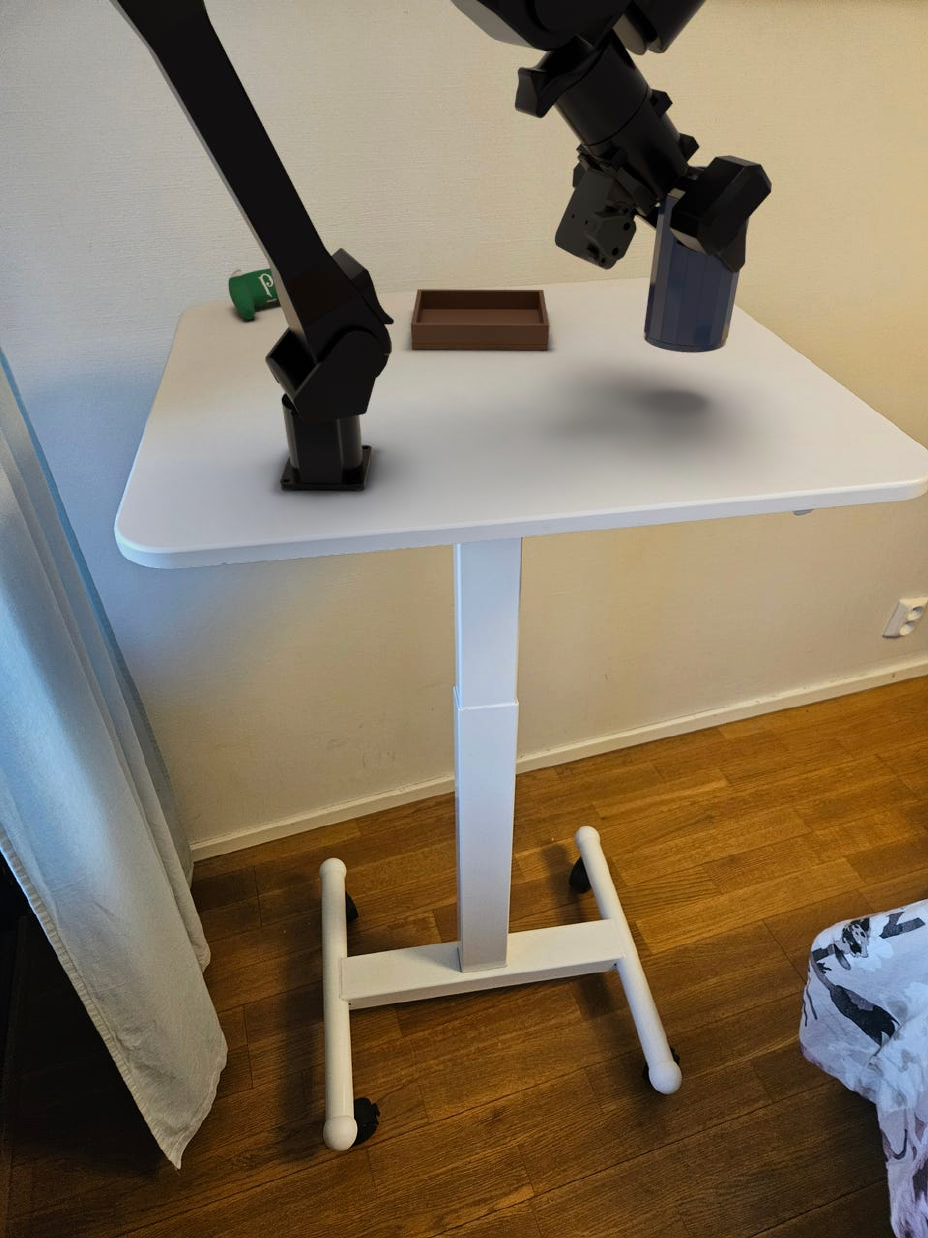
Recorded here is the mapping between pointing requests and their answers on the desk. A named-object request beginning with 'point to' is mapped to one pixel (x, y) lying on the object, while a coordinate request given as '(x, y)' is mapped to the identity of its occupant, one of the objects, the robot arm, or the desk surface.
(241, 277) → the green rounded piece
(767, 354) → the desk surface
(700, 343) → the cup
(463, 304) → the tray
